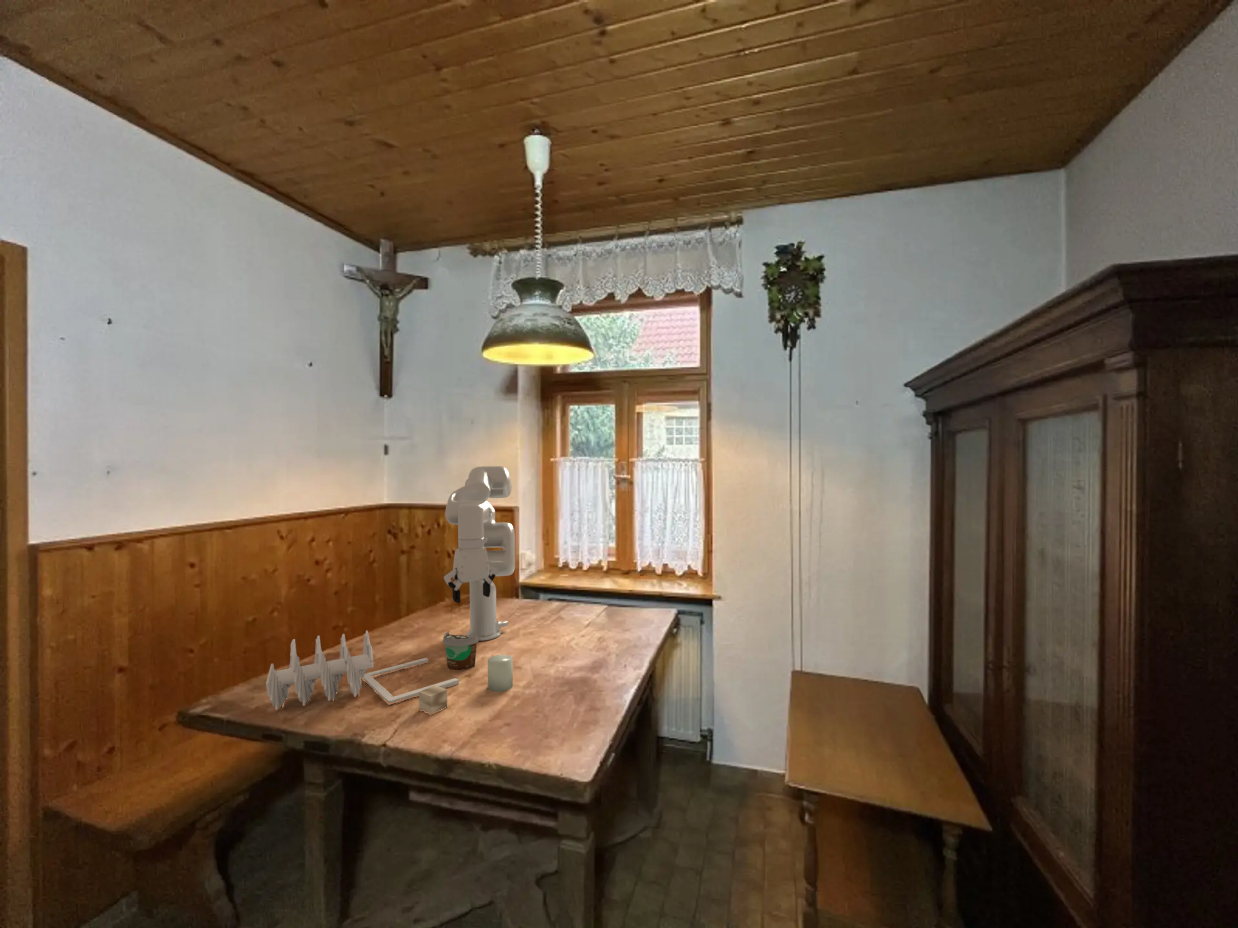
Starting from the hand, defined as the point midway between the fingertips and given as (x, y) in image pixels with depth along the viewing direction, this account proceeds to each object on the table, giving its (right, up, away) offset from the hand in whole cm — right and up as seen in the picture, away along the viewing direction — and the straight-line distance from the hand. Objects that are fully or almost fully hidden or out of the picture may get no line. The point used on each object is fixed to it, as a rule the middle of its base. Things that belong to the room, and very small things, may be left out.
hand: (472, 599), depth 163 cm
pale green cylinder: (+11, -23, -9) cm, 27 cm away
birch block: (-4, -23, -23) cm, 33 cm away
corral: (-17, -23, -4) cm, 29 cm away
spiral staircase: (-36, -24, -17) cm, 47 cm away
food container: (-6, -23, +5) cm, 25 cm away
